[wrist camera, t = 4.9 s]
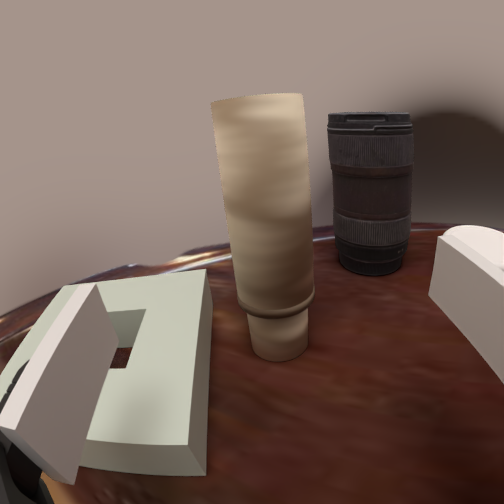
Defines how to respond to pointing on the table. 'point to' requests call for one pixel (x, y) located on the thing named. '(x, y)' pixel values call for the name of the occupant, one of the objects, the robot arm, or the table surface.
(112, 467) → the board
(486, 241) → the coaster
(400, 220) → the camera lens
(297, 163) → the leg
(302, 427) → the table surface
